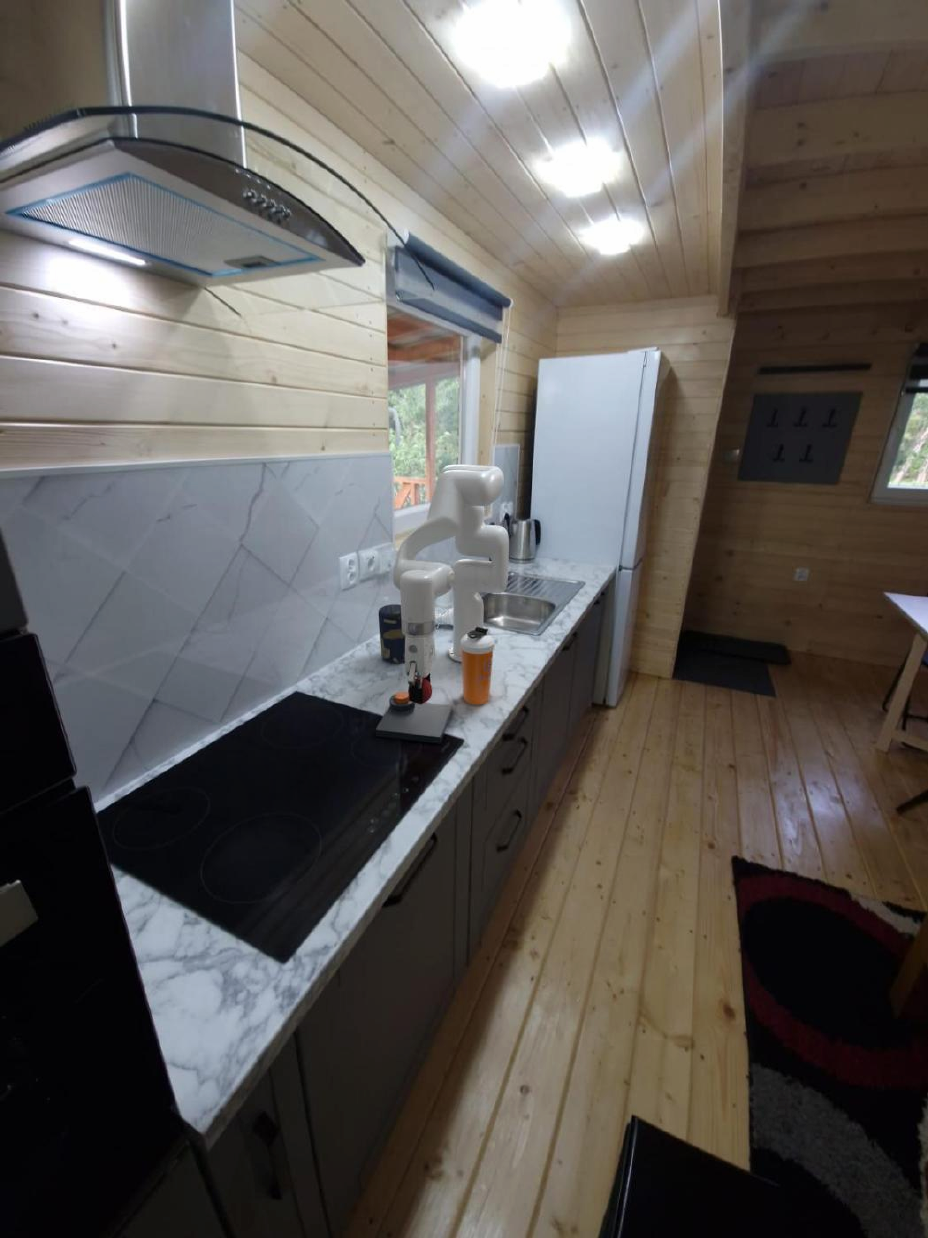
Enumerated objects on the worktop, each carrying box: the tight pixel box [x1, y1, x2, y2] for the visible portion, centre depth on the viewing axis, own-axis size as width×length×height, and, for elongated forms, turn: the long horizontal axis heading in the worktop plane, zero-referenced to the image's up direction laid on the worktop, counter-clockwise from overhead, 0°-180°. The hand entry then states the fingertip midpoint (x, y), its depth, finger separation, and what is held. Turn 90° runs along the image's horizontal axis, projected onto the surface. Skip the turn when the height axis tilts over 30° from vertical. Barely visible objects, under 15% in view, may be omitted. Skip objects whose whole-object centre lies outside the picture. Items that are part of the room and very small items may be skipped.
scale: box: [375, 694, 453, 745], centre depth 124 cm, size 15×16×4 cm
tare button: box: [394, 691, 409, 704], centre depth 128 cm, size 4×4×2 cm
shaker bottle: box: [461, 627, 495, 706], centre depth 132 cm, size 9×9×20 cm
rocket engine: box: [435, 607, 453, 629], centre depth 181 cm, size 12×12×18 cm
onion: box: [407, 677, 433, 705], centre depth 118 cm, size 6×6×8 cm
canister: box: [378, 603, 406, 663], centre depth 155 cm, size 10×10×18 cm
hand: (420, 693), depth 118 cm, fingers closed on onion, 5 cm apart
